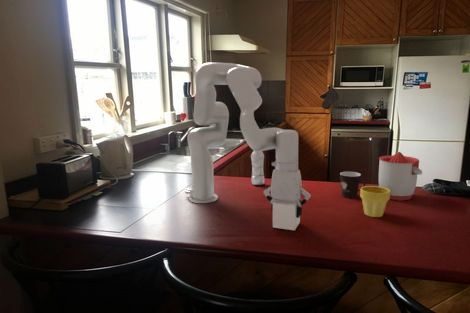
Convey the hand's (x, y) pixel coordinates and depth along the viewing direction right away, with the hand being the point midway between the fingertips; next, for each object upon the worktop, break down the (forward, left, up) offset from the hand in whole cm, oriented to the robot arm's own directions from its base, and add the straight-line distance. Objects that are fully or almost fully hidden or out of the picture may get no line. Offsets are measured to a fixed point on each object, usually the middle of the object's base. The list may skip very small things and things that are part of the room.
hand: (286, 215), depth 125 cm
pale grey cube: (0, 0, -4) cm, 4 cm away
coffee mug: (+18, +42, -4) cm, 45 cm away
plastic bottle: (-27, +48, -4) cm, 55 cm away
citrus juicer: (+37, +48, -4) cm, 60 cm away
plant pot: (+28, +23, -4) cm, 36 cm away
